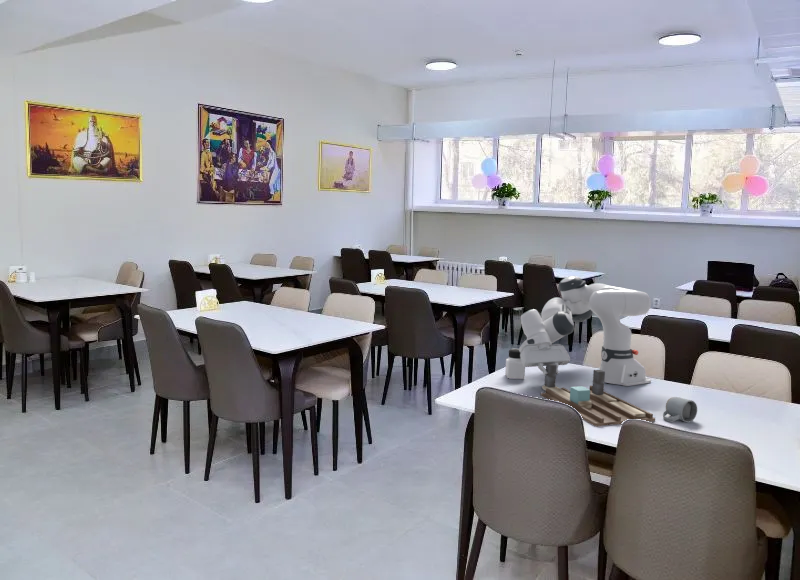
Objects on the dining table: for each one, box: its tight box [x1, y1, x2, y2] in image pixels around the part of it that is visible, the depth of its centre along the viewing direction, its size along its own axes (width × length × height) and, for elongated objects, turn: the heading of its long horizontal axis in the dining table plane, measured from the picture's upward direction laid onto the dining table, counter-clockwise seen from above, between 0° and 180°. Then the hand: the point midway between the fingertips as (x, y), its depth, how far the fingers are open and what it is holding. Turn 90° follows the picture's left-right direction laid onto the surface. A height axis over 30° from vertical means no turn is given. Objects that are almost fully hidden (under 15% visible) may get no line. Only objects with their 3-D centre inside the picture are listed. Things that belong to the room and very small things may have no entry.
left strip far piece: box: [610, 401, 646, 417], centre depth 230 cm, size 5×14×1 cm, turn 18°
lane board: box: [540, 385, 656, 427], centre depth 236 cm, size 24×36×3 cm, turn 18°
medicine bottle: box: [504, 348, 526, 380], centre depth 275 cm, size 7×7×12 cm
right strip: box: [541, 363, 592, 408], centre depth 243 cm, size 5×26×10 cm, turn 18°
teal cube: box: [569, 385, 590, 404], centre depth 235 cm, size 5×5×5 cm
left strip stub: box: [591, 369, 617, 402], centre depth 242 cm, size 5×10×10 cm, turn 18°
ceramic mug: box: [662, 396, 698, 423], centre depth 225 cm, size 11×8×8 cm
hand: (551, 374), depth 253 cm, fingers closed on right strip, 3 cm apart
